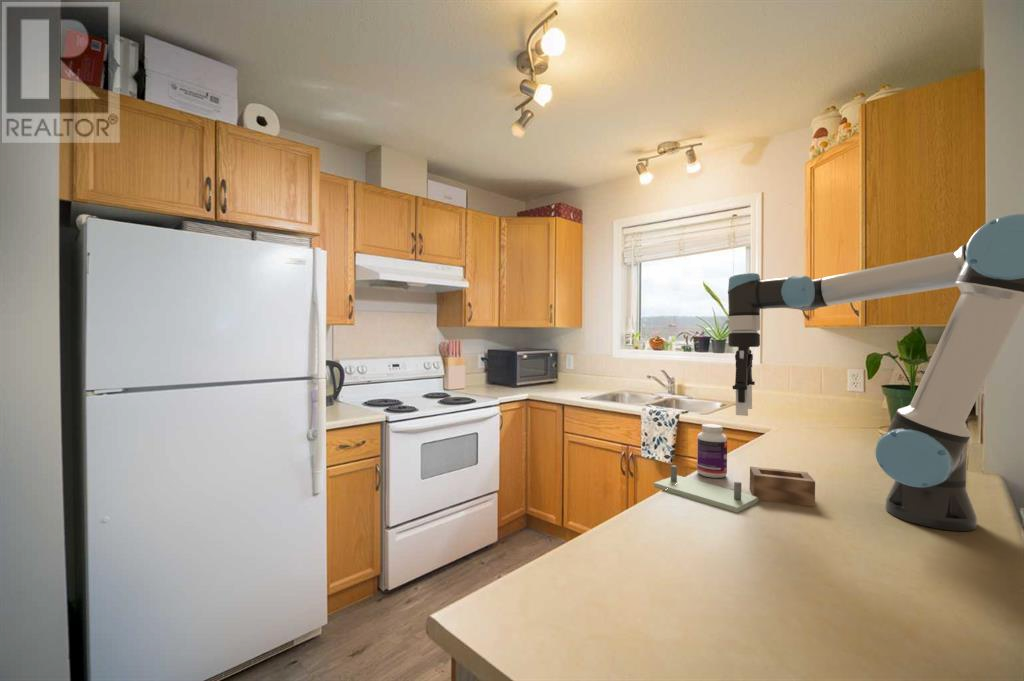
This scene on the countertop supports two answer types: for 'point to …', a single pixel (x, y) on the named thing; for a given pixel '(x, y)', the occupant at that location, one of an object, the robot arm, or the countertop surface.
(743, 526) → the countertop surface
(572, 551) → the countertop surface
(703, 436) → the pill bottle
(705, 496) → the green board with pegs
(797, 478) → the frame
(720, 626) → the countertop surface
